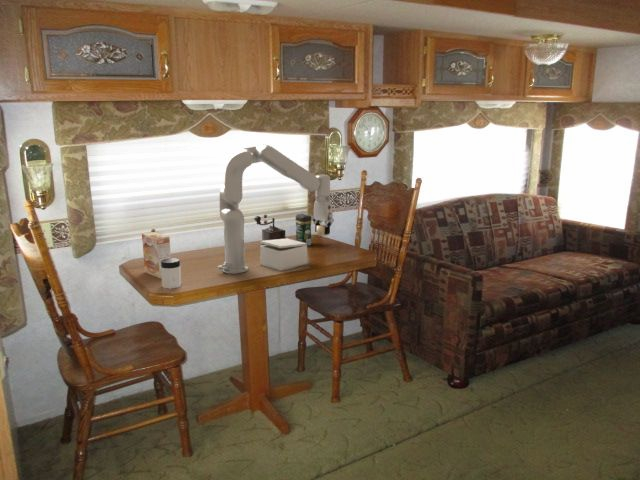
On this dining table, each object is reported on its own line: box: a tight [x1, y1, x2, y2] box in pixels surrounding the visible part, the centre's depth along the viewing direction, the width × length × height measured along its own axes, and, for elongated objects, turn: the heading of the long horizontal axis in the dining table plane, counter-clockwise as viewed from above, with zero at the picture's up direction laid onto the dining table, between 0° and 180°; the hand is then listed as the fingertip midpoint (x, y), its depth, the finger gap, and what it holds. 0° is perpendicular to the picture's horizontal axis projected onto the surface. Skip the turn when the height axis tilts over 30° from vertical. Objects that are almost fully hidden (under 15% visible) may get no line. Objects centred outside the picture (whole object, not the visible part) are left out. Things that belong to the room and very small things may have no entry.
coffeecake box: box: [141, 231, 172, 279], centre depth 260 cm, size 15×7×20 cm, turn 45°
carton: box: [259, 245, 308, 272], centre depth 276 cm, size 18×16×10 cm
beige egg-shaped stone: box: [315, 224, 330, 237], centre depth 280 cm, size 6×6×4 cm
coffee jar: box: [295, 213, 312, 247], centre depth 317 cm, size 10×8×19 cm
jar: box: [161, 257, 182, 290], centre depth 242 cm, size 9×8×12 cm
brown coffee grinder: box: [253, 215, 286, 246], centre depth 315 cm, size 16×11×18 cm
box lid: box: [259, 237, 308, 248], centre depth 275 cm, size 19×16×1 cm
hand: (322, 232), depth 280 cm, fingers closed on beige egg-shaped stone, 6 cm apart
